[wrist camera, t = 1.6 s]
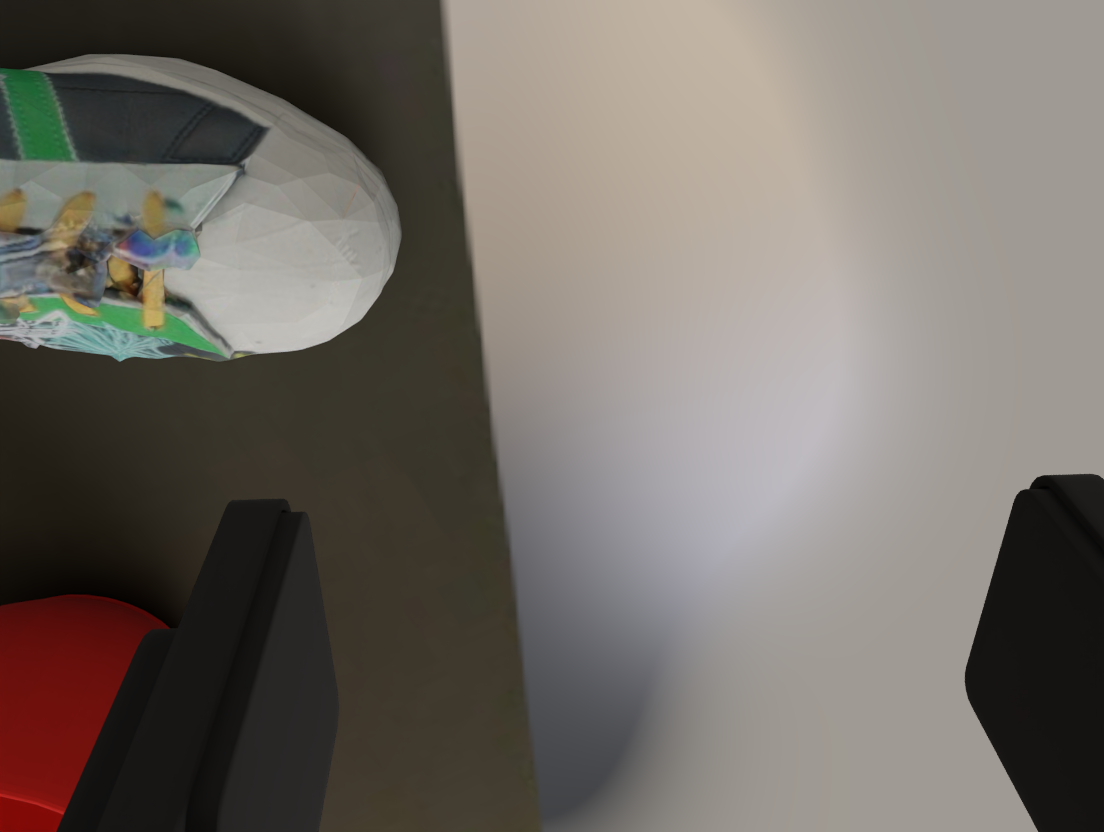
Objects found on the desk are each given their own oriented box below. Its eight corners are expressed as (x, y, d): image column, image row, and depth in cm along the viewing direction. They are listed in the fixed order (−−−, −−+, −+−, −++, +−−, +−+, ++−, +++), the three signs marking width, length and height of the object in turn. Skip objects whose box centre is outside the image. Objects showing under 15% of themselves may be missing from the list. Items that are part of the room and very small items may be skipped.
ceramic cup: (76, 875, 41) (-37, 1157, 32) (-185, 569, 32) (-434, 843, 24) (375, 812, 39) (341, 1087, 31) (188, 476, 31) (68, 728, 22)
